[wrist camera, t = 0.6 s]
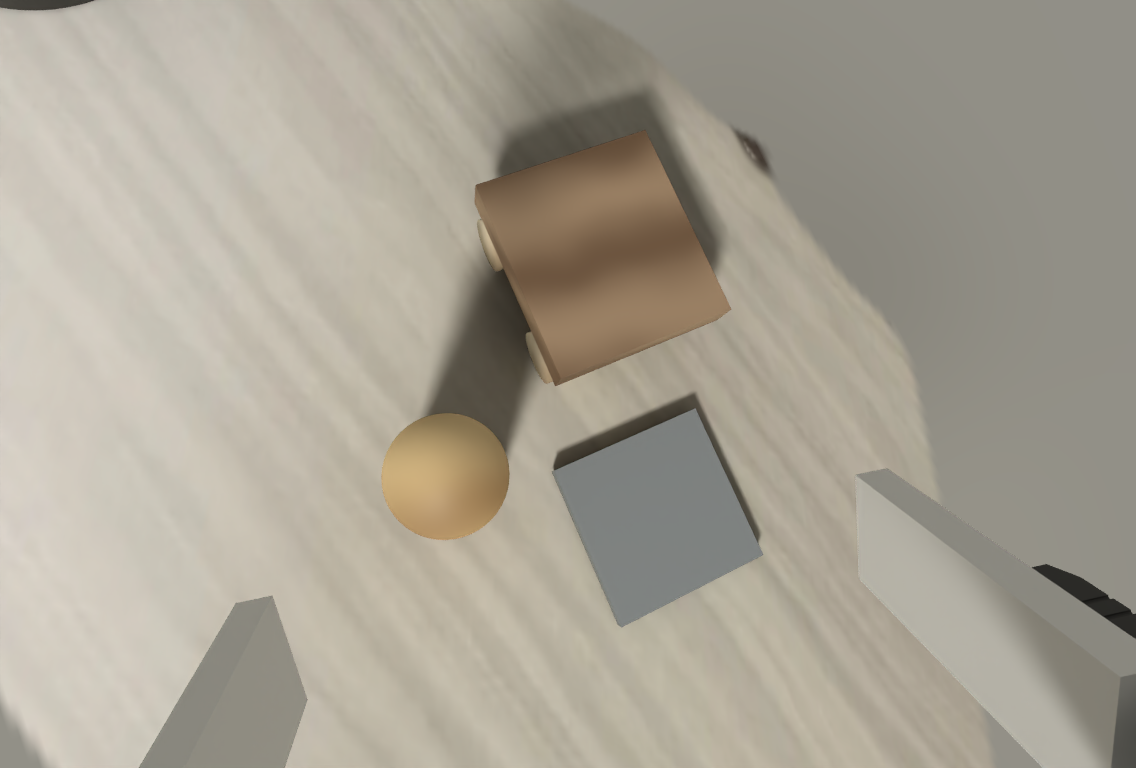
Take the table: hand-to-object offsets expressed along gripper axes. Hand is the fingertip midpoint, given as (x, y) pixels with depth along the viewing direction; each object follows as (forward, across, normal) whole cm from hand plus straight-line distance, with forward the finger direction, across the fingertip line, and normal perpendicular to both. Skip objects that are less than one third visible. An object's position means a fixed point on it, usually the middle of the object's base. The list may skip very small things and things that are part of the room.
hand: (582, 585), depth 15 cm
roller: (+21, -5, -6) cm, 22 cm away
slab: (+27, +5, +2) cm, 27 cm away
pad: (+20, +6, -10) cm, 24 cm away
